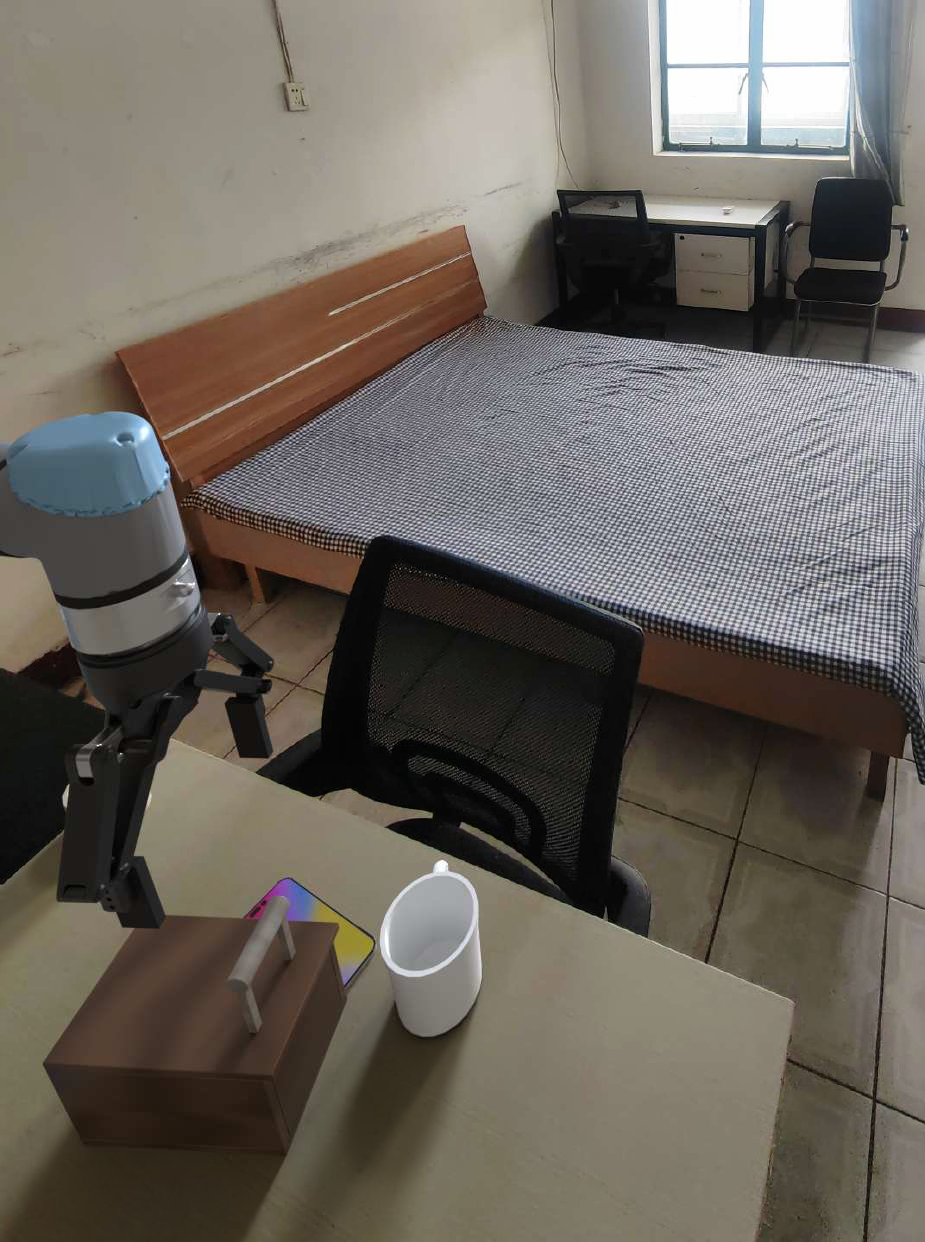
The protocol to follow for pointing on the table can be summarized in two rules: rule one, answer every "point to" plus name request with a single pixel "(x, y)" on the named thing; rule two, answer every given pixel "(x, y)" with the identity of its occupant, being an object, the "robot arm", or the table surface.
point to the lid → (200, 998)
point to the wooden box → (209, 1093)
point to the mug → (433, 952)
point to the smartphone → (307, 906)
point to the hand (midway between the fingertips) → (207, 829)
